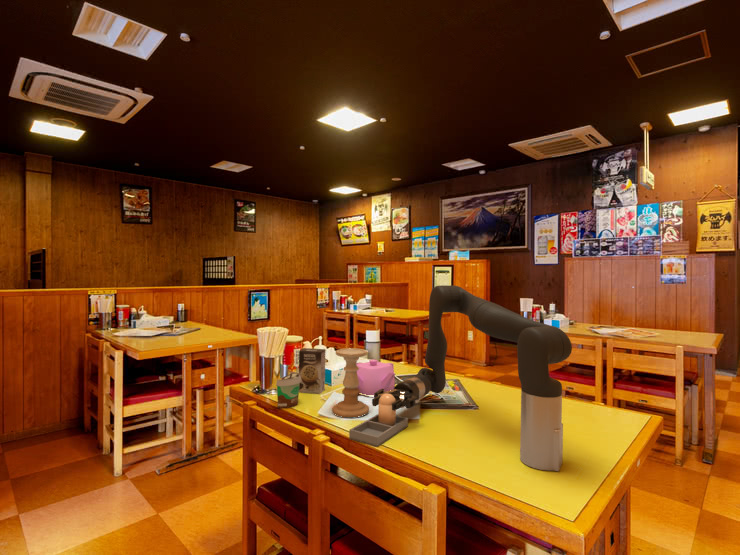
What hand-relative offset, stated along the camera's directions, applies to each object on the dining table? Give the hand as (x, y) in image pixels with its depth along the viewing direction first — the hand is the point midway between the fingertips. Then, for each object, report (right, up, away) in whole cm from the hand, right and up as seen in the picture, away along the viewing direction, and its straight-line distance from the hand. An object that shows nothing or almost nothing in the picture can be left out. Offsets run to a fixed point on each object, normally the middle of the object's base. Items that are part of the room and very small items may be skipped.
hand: (383, 404), depth 116 cm
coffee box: (-26, -7, +38) cm, 47 cm away
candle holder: (-10, -7, +16) cm, 20 cm away
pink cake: (-3, -7, +38) cm, 39 cm away
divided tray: (-1, -7, -1) cm, 8 cm away
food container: (-31, -7, +22) cm, 39 cm away
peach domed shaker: (+1, -7, +2) cm, 7 cm away
